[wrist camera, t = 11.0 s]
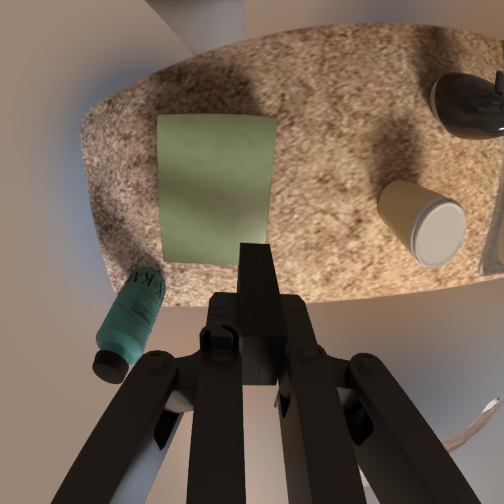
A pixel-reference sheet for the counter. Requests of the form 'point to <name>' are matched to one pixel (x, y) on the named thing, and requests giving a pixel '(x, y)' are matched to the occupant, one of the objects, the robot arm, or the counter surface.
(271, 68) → the counter surface
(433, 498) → the robot arm
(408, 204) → the coffee cup
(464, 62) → the counter surface
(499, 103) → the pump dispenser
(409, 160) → the counter surface
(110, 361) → the beverage bottle
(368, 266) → the counter surface
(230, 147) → the lid
